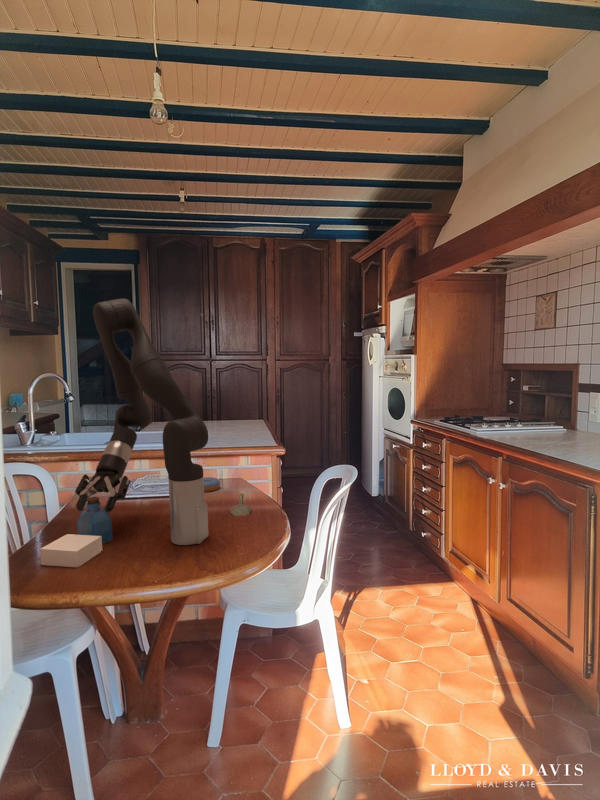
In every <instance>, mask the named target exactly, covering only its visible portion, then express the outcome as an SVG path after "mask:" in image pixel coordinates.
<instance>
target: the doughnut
mask: <svg viewBox="0 0 600 800" xmlns="http://www.w3.org/2000/svg"><path fill="white" fill-rule="evenodd" d="M203 481H204V493H210V492H211V493H212V492H214V491H216V490H219V488H220V487H221V480H219V479H218V478H217V477H213V476H212V477H211V476H208V477H203Z"/></svg>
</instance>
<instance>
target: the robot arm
mask: <svg viewBox="0 0 600 800" xmlns="http://www.w3.org/2000/svg"><path fill="white" fill-rule="evenodd" d="M92 312H93V313H92V315H93V320H94V323H95V324H94V325H95V327H96V330H97V333H98V336H99V338H100V339H99V340H100V342H101V344H102V347H103V349H104V350H103V351H104V353H105V354H106V357H107V360H108V363H109V366H110V369H111V373H112V376H113V381H114V382H113V383H114V386H115V391H116V395H117V397H118V399H120V400H122V401H125V402H126V403H127V402H128V403H129V404H122V405H121V406H119V407H118V408H117V409H116V412H115V416H114V417H115V419H114V426H113V432H112V434H111V437H110V439H109V441H108V443H107V445H106V447H105V449H104V451H103V452H102V455H101V456H100V458H99V461H98V464H97V466H96V468H95V474H94V475H93V476H89V475H87V474H84V475H83V476H82V477H81V479H80V481H79V483H78V485H77V487H76V489H75V491H74V493H75V494H76V495H77V496H78V497H79V498H78V499H77V502H76V504H75V507H76V510H78V512H83V511H84V508H85V506H86V504H87V503H88V502H87V499H88V498H91V497H92V496H93V495H95V494H97V493H109V495H110V496H109V497H108V498H107V501H106V504H105V507H104V509H105V511H106V512H107V513H108V514H109V513H111V511H113V510H114V508H115V505H116V504H117V502H118V500H121V499H122V500H124V499H126V496H127V492H128V490H129V487H130V484H131V480H130V479H129V477H128V476H127V475H124V473H125V472H126V469H127V466H128V464H129V462H130V459H131V457H132V451H133V449H134V447H135V444H136V441H137V439H138V434H137V432H136V431H134V429H133V428H145V427H147V426H149V424H150V423H151V421H152V410H151V408H150V405H149V404H148V401H147V399H146V398H145V396H144V394H145V395H146V396H147V397H149V398H150V399H151V400H153V402H155V403H157V404H158V405H159V406H160V407H162V408H164V409H165V411H167V413H168V414H170V415H169V416H171V417H172V420H170V421H168V422H167V423H166V424H165V425H164V428H163V431H162V448H163V457H164V467H165V469H166V473H167V475H168V496H169V497H168V498H169V519H170V520H169V521H170V541H171V542H172V543H173V544H175V545H178V546H190V545H196V544H197V545H200V544H201V543H203V542H204V540H206V539H207V538H208V536H209V517H208V516H209V515H208V513H209V511H208V502H205V492H204V481H203V478H204V467H203V465H201V464H199V463H193V461H192V455H191V452H195V451H199V450H201V449H203V448H205V447H206V446H207V444H208V442H209V432H208V428H207V426H206V424H205V422H204V420H203V419H202V418H201V416H200V415H199V413H198V412H197V411H196V410H195V408H194V407H193V406H192V404H191V403H190V401H188V398H186V396H185V395H184V393H183V391H182V389H181V388H180V387H179V385H178V383H177V382H176V380H175V378H174V377H173V375H172V373H171V372H170V369H169V368H168V366H167V365H166V363H165V361H164V360H163V359H164V358H162V356H161V355H160V353H159V352H158V350H157V349H156V346H155V345H154V343H153V342H152V340H151V338H150V336H149V334H148V333H147V330H146V328H145V325H144V324H143V322H142V320H141V318H140V316H139V313H138V311H137V310H136V307H135V306H134V305H133V303H132V302H131V300H129V299H128V298H116V299H111V300H104V301H101V302H97V303H96V304H94V306H93V310H92ZM126 331H127V332H128V333H129V335H130V337H131V339H132V352H131V356H130V359H129V358H128V357H127V356H126V354H124V352H123V351H121V349H120V348H119V347H118V345H117V343H116V341H115V338H114V334H116V333H120V332H126ZM119 484H120V485H119ZM117 487H118V489H117ZM92 488H93V489H92Z"/></svg>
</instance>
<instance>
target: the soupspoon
mask: <svg viewBox="0 0 600 800" xmlns="http://www.w3.org/2000/svg"><path fill="white" fill-rule="evenodd" d="M238 496H239V502H238V504H236V505H233V506H232V507H231V508H230V515H232V516H234V517H245V516H250V515H251V512H252V508H251V506H250V505H248V504H245V503H243V497H245V493H243V492H241V493H239V495H238Z"/></svg>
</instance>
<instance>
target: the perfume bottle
mask: <svg viewBox="0 0 600 800" xmlns="http://www.w3.org/2000/svg"><path fill="white" fill-rule="evenodd" d="M85 506H86V508H87V509H86V510H83V511H81V513H80V515H79V517H78V519H77V521H76V525H77V535H91V536H102V543H103V544H105V543H107V541H108V542H110V540H111V541H113V540H112V539H113V524H112V523H113V522H112V517H111V515H110V514H109V513H108V512H106V511H105V508H100V506H101V501H100V497H99V496H90V497H89V498H87V502H86V504H85ZM104 542H105V543H104Z"/></svg>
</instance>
